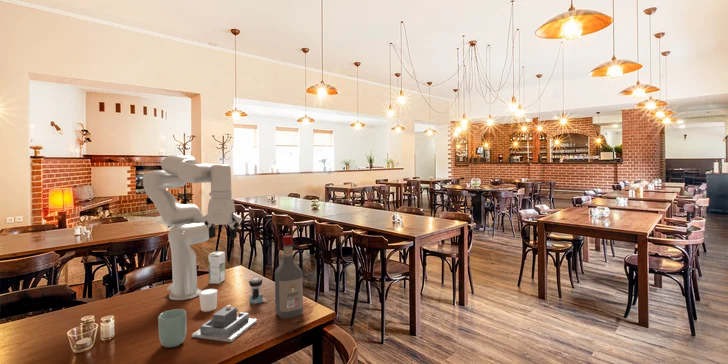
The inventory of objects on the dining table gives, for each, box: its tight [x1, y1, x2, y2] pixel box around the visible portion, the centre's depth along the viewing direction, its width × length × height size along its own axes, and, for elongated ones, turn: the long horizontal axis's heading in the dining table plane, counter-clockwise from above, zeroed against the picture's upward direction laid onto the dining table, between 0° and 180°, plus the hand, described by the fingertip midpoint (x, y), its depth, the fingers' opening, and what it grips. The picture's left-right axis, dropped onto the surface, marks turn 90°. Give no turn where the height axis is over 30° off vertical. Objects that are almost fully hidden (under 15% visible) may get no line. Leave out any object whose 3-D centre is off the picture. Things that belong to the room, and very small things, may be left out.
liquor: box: [274, 234, 304, 320], centre depth 133 cm, size 9×9×30 cm
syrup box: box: [207, 251, 226, 285], centre depth 172 cm, size 6×6×14 cm
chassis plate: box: [191, 311, 258, 343], centre depth 122 cm, size 15×15×4 cm
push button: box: [248, 277, 267, 304], centre depth 145 cm, size 7×5×10 cm
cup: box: [157, 308, 188, 348], centre depth 111 cm, size 8×8×10 cm
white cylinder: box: [198, 288, 218, 312], centre depth 139 cm, size 7×7×7 cm
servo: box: [210, 304, 239, 328], centre depth 121 cm, size 4×9×6 cm, turn 166°
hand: (222, 238), depth 139 cm, fingers open, 9 cm apart
